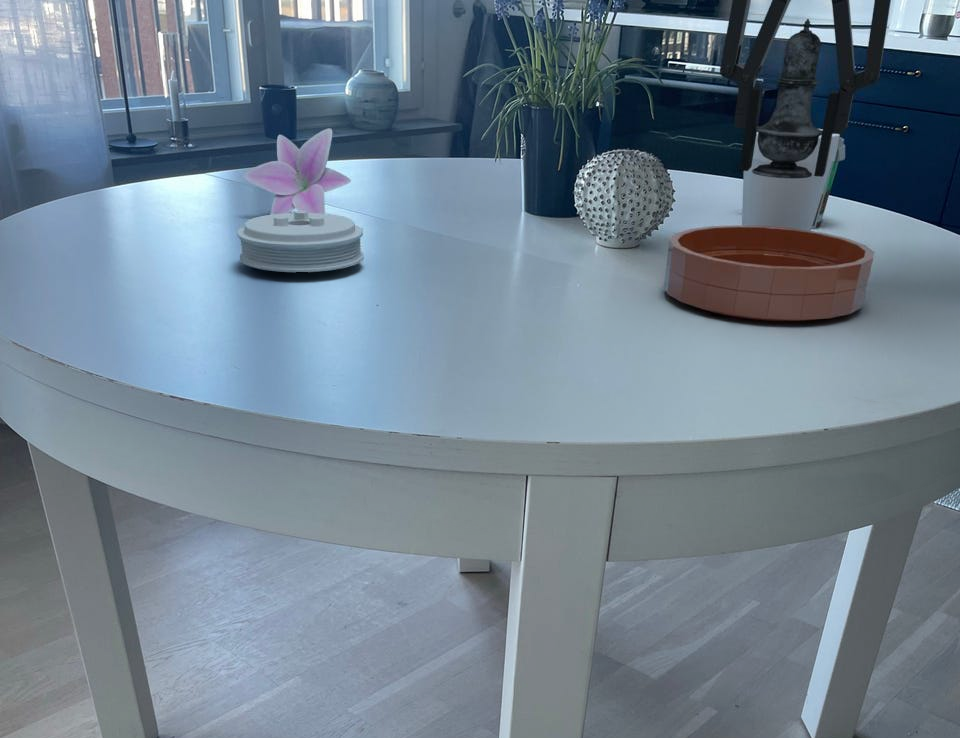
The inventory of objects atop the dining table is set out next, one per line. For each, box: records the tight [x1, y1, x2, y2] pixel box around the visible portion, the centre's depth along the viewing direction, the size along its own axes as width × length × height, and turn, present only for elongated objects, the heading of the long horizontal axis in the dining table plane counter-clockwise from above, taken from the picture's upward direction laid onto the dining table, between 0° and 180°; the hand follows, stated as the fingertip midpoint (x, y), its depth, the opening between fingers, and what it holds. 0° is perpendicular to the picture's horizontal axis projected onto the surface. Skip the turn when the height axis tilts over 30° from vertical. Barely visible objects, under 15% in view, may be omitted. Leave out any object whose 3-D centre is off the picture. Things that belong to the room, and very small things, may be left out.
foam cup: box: [741, 128, 841, 231], centre depth 107 cm, size 10×9×13 cm
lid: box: [236, 210, 365, 273], centre depth 104 cm, size 13×13×5 cm
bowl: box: [663, 224, 875, 322], centre depth 97 cm, size 19×19×5 cm
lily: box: [242, 128, 352, 215], centre depth 125 cm, size 12×12×10 cm
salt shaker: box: [752, 18, 822, 178], centre depth 89 cm, size 6×6×12 cm
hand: (782, 170), depth 92 cm, fingers closed on salt shaker, 6 cm apart
